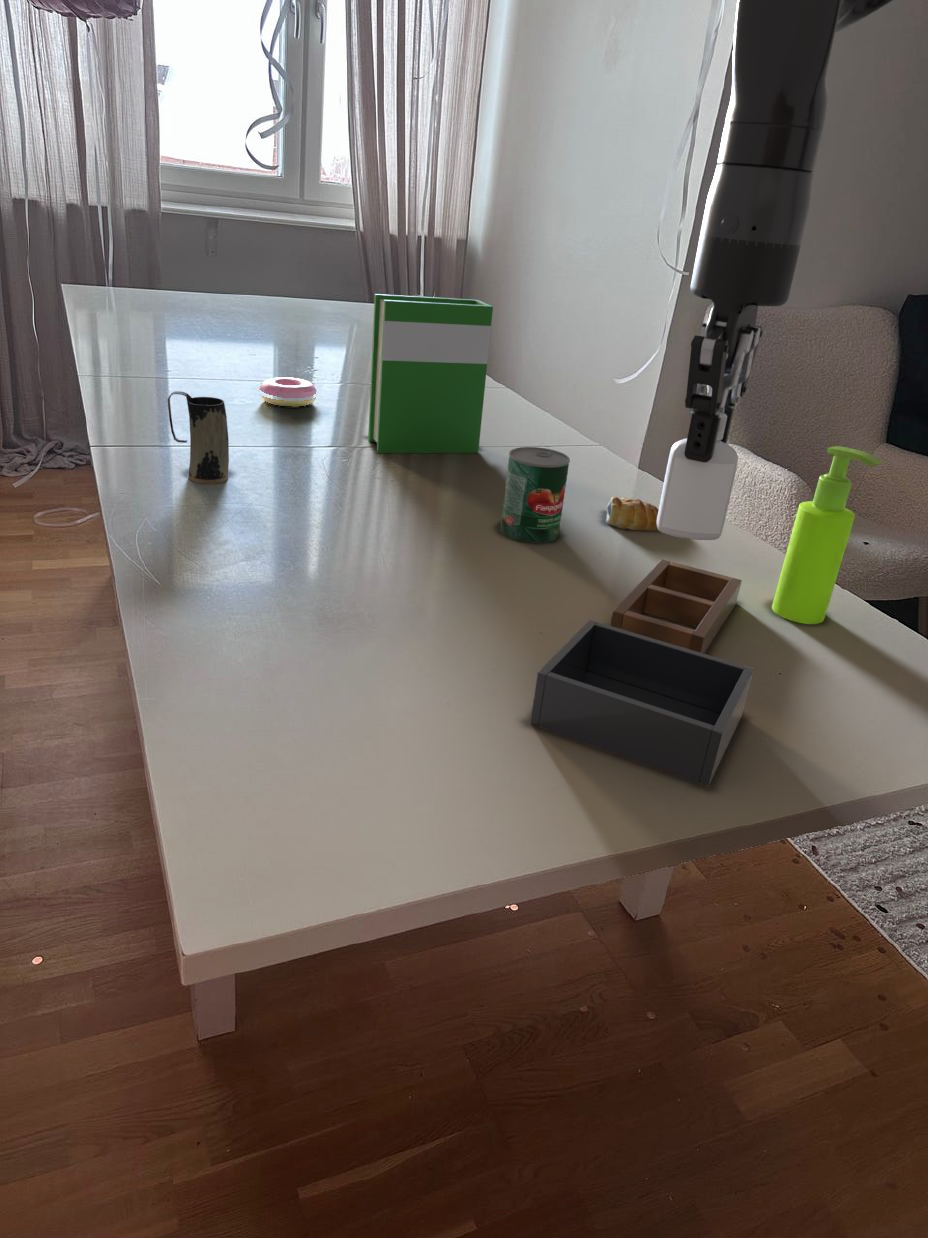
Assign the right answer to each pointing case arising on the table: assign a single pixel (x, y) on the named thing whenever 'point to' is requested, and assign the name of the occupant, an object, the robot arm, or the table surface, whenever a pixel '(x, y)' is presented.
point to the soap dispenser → (818, 543)
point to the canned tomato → (534, 494)
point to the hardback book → (428, 373)
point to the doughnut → (288, 391)
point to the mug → (206, 439)
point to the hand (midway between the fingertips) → (704, 453)
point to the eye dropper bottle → (697, 491)
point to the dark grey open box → (643, 699)
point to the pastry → (632, 514)
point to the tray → (678, 605)
